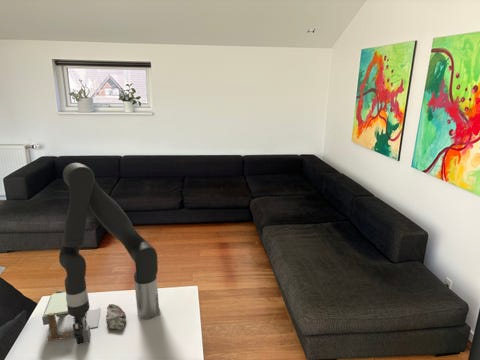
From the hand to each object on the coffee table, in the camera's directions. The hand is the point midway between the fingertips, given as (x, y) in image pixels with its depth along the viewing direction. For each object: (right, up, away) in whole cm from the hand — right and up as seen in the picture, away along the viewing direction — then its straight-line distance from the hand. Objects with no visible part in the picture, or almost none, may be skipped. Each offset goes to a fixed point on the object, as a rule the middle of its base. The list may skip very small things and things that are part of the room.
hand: (82, 335), depth 136 cm
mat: (-5, +1, +11) cm, 12 cm away
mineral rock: (+9, +1, +11) cm, 15 cm away
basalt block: (0, -2, +1) cm, 2 cm away
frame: (-12, +1, +9) cm, 15 cm away
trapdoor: (-11, +7, +7) cm, 15 cm away
